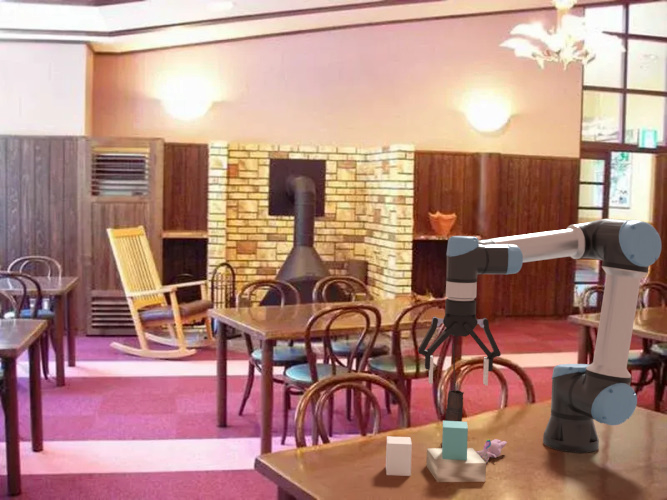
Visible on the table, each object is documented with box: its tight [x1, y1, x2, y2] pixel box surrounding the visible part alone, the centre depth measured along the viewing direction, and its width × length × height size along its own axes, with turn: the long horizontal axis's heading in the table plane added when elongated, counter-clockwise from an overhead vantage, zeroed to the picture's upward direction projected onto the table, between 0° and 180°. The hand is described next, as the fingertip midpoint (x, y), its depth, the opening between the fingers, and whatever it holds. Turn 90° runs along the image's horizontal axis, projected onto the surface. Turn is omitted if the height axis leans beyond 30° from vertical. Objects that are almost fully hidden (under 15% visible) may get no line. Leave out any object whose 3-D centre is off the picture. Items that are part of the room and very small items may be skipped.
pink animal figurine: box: [475, 438, 508, 464], centre depth 222 cm, size 6×6×15 cm
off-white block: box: [385, 435, 413, 477], centre depth 209 cm, size 6×6×8 cm
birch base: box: [425, 447, 487, 483], centre depth 209 cm, size 12×12×5 cm
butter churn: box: [444, 343, 465, 422], centre depth 233 cm, size 9×10×28 cm
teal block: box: [441, 420, 469, 460], centre depth 208 cm, size 6×6×8 cm
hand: (457, 383), depth 208 cm, fingers open, 13 cm apart
